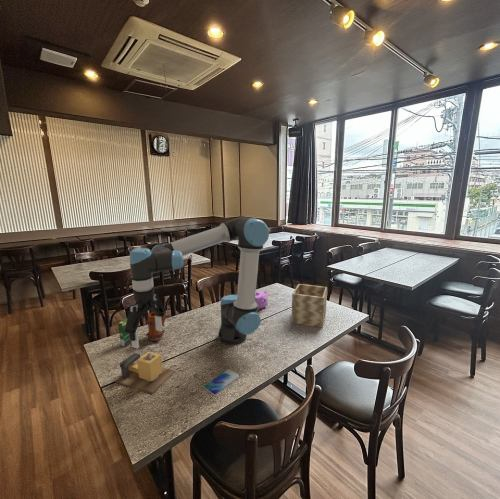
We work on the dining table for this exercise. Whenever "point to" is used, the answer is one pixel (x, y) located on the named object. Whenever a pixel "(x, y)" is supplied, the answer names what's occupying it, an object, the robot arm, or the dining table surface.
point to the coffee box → (124, 336)
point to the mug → (154, 327)
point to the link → (148, 366)
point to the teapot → (261, 299)
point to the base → (138, 383)
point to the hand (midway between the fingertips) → (148, 338)
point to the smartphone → (221, 382)
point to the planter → (309, 305)
